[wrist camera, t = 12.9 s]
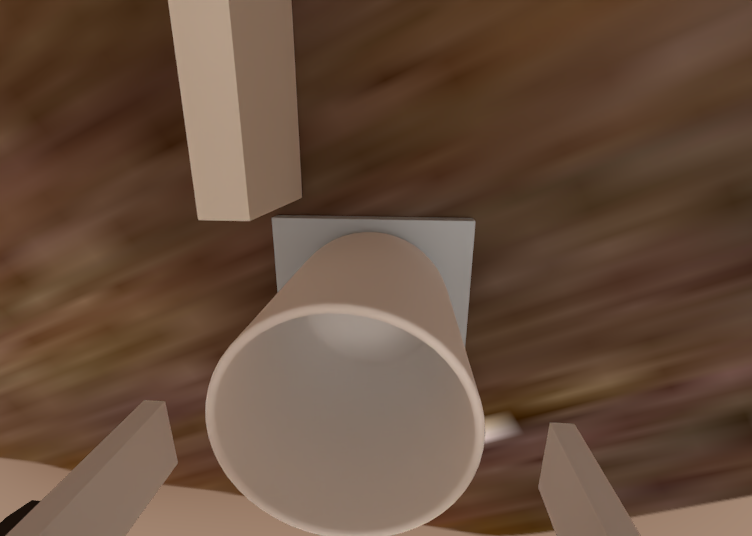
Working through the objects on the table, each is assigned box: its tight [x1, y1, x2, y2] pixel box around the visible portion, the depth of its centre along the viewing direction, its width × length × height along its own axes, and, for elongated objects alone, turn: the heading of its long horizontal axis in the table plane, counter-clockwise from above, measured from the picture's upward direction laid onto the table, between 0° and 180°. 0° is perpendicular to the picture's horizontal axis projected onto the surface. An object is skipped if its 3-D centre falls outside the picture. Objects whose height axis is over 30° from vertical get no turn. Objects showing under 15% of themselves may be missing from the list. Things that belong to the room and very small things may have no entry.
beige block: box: [168, 0, 302, 221], centre depth 16 cm, size 11×5×8 cm, turn 0°
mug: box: [206, 232, 485, 536], centre depth 17 cm, size 9×12×11 cm
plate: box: [272, 215, 475, 347], centre depth 23 cm, size 13×11×1 cm
